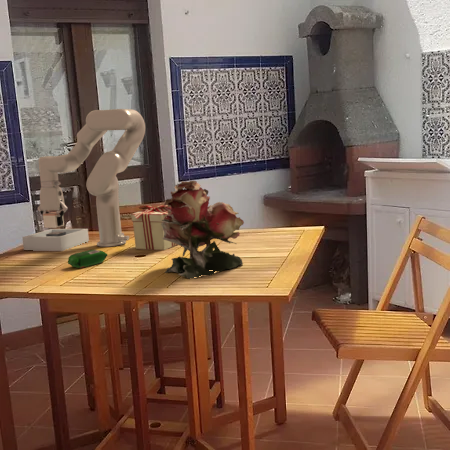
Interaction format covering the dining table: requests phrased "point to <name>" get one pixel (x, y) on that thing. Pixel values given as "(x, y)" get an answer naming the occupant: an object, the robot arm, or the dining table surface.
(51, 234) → the block
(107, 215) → the robot arm
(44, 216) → the orange and beige cube
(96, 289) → the dining table surface
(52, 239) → the tote
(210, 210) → the rose bouquet
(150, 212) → the gift box
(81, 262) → the snack package
